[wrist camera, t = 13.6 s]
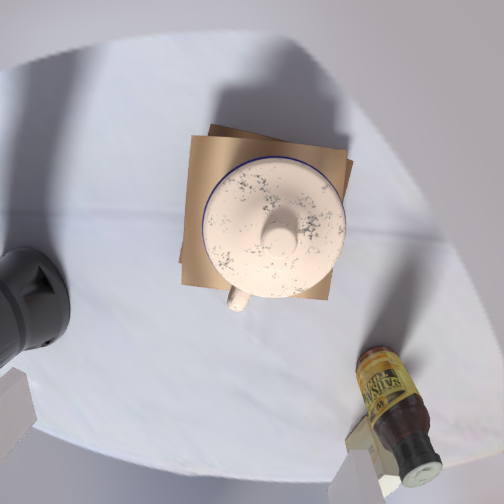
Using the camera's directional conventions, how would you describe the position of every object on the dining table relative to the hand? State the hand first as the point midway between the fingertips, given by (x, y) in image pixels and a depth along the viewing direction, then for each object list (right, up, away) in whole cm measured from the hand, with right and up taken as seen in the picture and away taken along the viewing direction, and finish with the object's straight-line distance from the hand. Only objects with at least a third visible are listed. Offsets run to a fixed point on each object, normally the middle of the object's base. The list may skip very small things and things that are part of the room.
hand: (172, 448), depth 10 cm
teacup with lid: (+4, +10, +19) cm, 21 cm away
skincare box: (+20, -20, +32) cm, 43 cm away
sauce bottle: (+19, -8, +29) cm, 36 cm away
